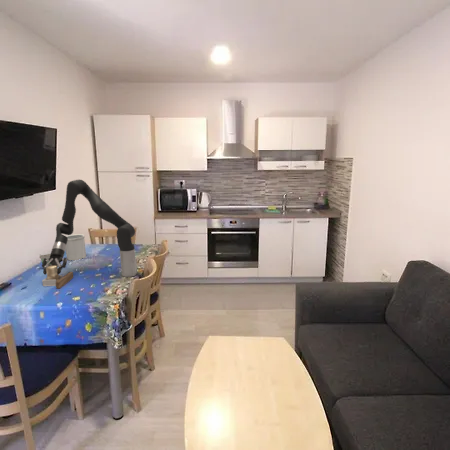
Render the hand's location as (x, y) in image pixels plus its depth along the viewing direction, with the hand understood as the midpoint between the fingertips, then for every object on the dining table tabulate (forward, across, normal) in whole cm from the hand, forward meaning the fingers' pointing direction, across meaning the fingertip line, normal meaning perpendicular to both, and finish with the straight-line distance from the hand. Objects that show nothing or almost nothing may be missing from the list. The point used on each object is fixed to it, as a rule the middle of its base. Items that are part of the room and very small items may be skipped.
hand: (51, 273), depth 196 cm
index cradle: (+4, 0, +6) cm, 7 cm away
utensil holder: (-34, -10, +43) cm, 56 cm away
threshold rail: (+4, +7, +6) cm, 10 cm away
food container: (-17, -18, +27) cm, 37 cm away
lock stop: (+3, 0, +5) cm, 6 cm away
